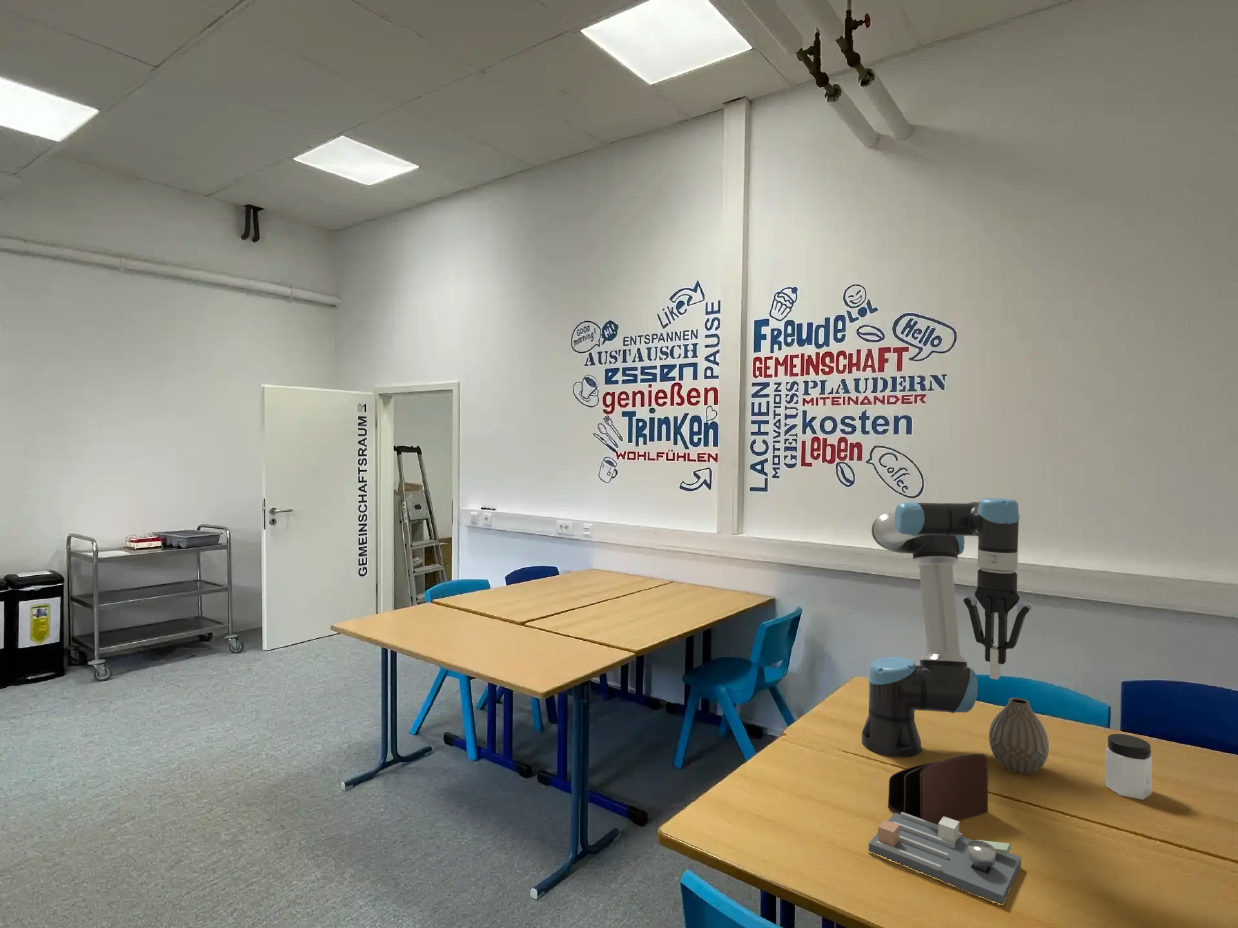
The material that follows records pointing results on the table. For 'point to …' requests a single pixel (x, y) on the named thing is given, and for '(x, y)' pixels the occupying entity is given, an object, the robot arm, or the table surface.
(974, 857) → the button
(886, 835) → the slider terracotta
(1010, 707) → the vase
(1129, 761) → the jar
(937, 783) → the letter holder
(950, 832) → the slider ivory
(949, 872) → the panel
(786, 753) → the table surface
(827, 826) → the table surface
